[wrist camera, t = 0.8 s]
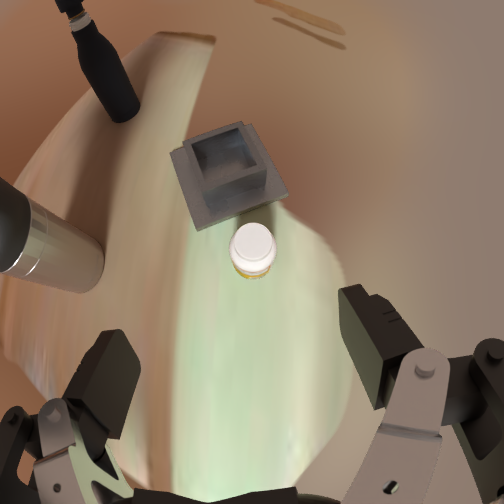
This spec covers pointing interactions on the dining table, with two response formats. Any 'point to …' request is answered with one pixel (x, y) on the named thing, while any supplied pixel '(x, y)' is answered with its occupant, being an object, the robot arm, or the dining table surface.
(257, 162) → the square socket
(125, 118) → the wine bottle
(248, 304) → the dining table surface
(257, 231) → the supplement bottle
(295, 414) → the dining table surface
